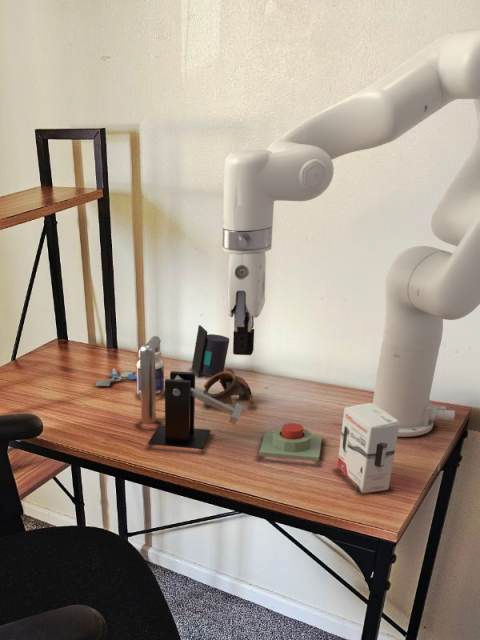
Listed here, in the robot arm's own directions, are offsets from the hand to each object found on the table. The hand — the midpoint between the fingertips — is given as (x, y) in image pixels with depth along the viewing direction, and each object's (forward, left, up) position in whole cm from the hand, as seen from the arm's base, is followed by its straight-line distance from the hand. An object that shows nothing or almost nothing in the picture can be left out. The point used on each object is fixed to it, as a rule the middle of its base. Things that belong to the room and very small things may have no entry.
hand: (243, 353), depth 119 cm
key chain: (+32, -30, -18) cm, 47 cm away
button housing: (-9, 0, -18) cm, 20 cm away
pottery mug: (+5, -19, -18) cm, 26 cm away
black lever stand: (+11, 0, -18) cm, 21 cm away
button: (-9, 0, -15) cm, 17 cm away
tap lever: (+7, 0, -10) cm, 12 cm away
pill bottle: (+22, -21, -18) cm, 35 cm away
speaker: (+12, -37, -18) cm, 43 cm away
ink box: (-21, +8, -18) cm, 29 cm away
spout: (+18, -8, -18) cm, 27 cm away
